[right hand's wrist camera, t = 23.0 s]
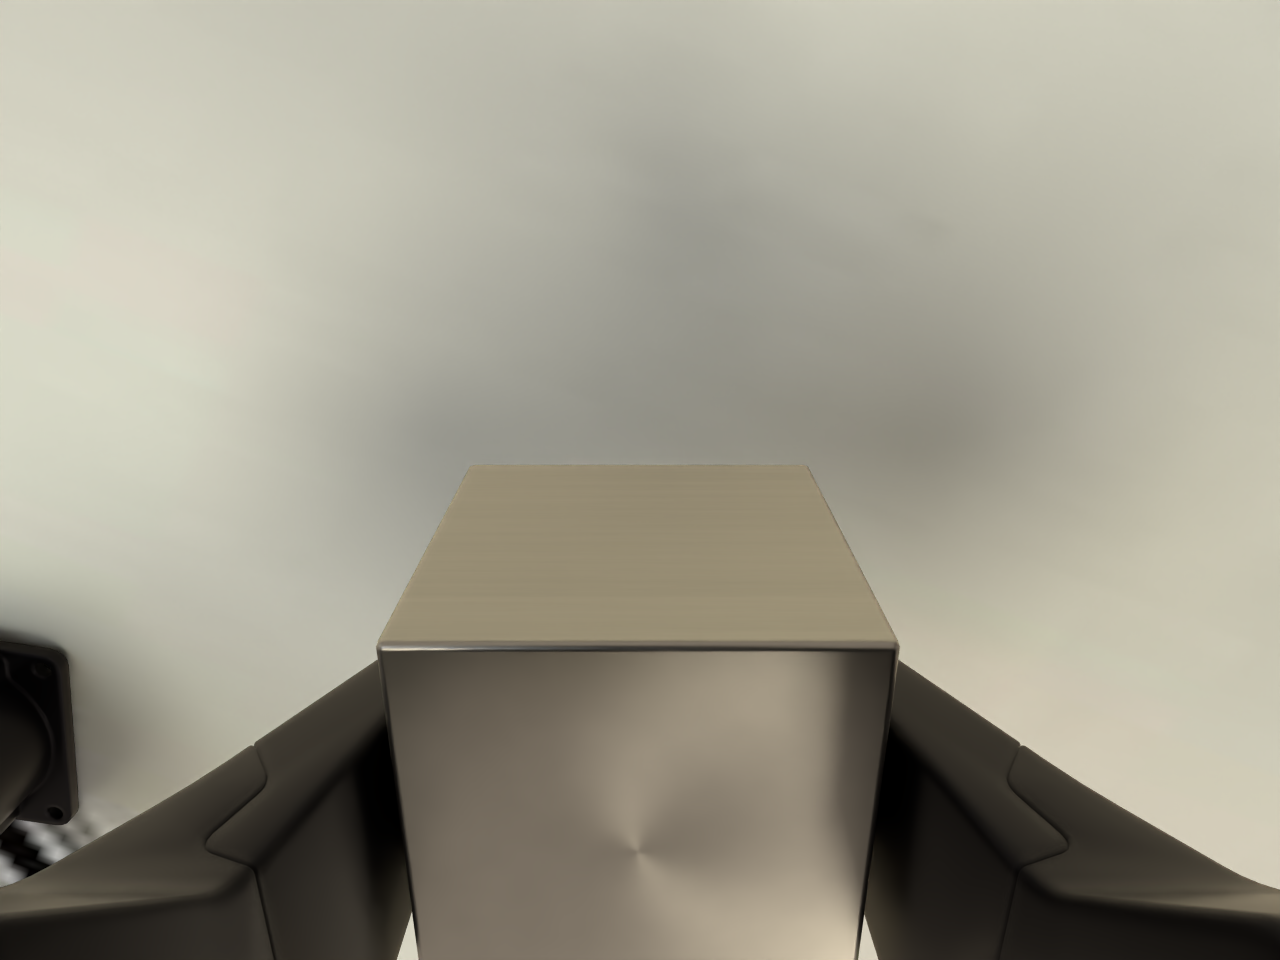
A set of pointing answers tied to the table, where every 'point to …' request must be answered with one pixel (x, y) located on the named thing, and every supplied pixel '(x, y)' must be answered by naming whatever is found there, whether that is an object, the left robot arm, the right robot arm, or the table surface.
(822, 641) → the cube
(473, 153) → the table surface
